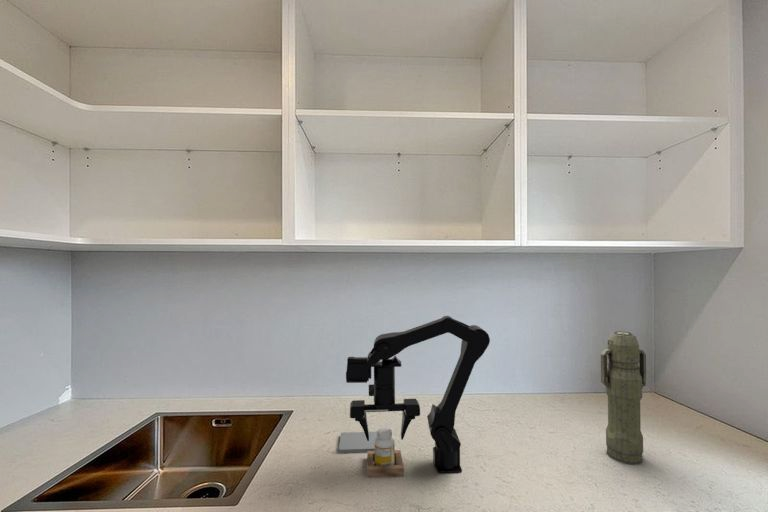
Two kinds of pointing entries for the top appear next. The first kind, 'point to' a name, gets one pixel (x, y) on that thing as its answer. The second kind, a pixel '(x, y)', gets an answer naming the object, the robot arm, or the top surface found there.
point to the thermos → (624, 396)
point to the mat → (357, 442)
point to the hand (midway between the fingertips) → (385, 439)
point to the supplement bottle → (384, 448)
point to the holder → (385, 470)
